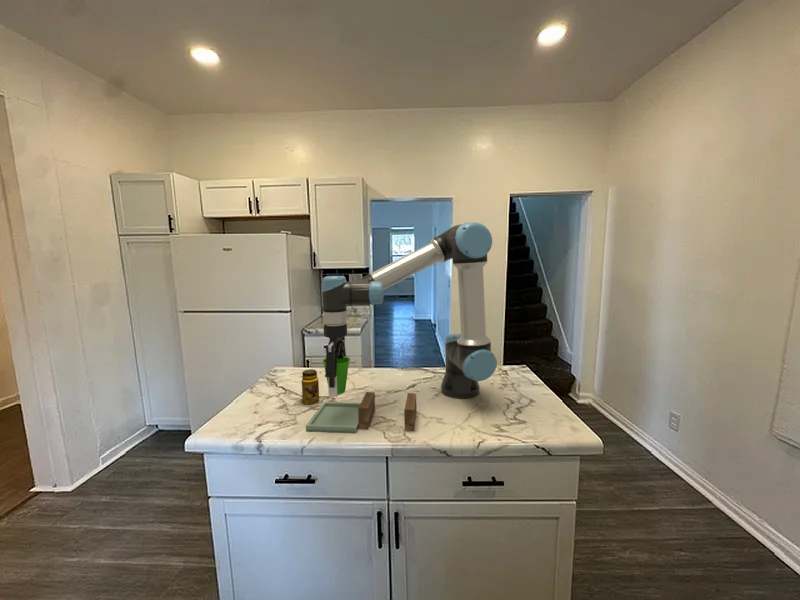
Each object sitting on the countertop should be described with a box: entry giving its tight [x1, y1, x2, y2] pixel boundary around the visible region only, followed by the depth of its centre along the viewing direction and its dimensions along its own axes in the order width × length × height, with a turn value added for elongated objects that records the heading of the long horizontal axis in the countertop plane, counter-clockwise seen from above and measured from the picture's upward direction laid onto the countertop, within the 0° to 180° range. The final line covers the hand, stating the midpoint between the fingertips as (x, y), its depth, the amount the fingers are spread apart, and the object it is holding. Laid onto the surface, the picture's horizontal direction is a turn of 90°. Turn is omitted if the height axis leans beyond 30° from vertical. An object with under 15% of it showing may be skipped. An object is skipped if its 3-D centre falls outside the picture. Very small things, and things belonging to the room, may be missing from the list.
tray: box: [305, 401, 361, 434], centre depth 119 cm, size 16×18×2 cm
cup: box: [322, 356, 351, 395], centre depth 117 cm, size 9×9×11 cm
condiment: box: [294, 368, 324, 408], centre depth 132 cm, size 7×8×12 cm
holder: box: [358, 391, 418, 432], centre depth 117 cm, size 18×13×7 cm
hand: (337, 390), depth 117 cm, fingers closed on cup, 9 cm apart
